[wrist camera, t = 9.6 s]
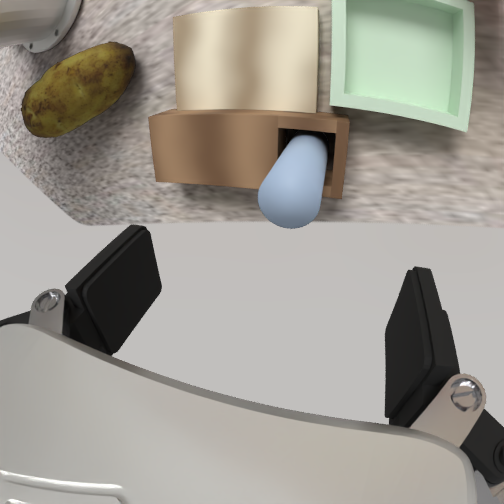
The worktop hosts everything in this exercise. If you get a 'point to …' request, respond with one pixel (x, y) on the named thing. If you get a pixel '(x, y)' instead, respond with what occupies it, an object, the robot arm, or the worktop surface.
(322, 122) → the block
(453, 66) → the tray
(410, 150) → the worktop surface
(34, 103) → the potato
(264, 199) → the dowel
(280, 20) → the cream curved slab
